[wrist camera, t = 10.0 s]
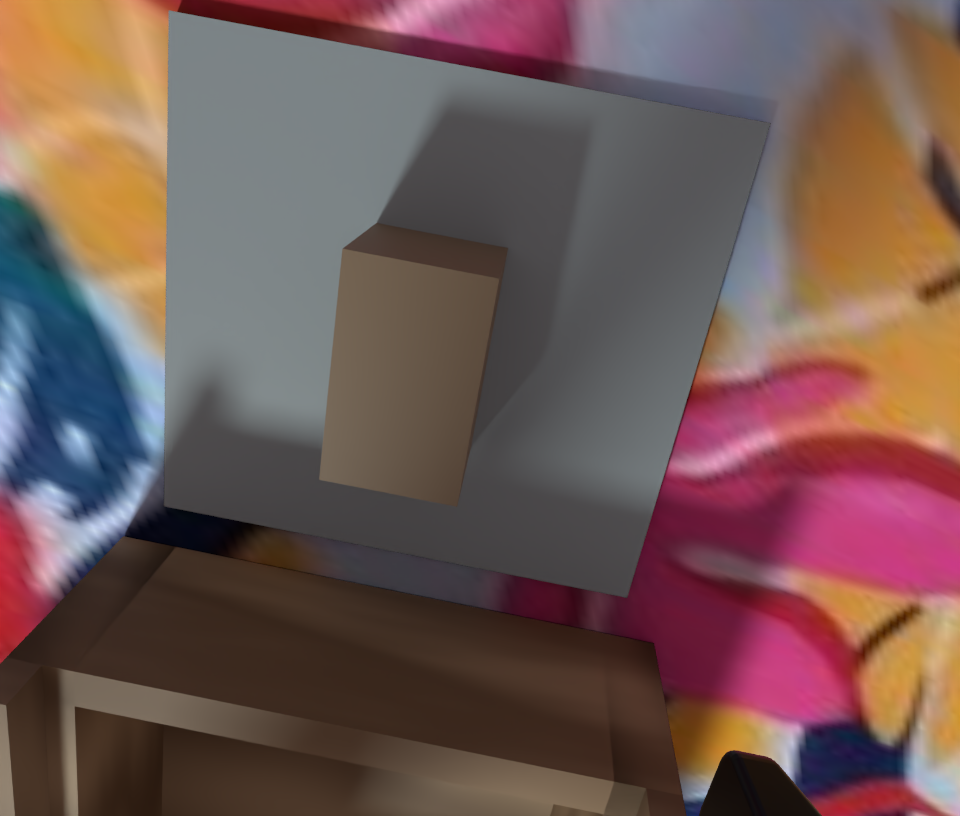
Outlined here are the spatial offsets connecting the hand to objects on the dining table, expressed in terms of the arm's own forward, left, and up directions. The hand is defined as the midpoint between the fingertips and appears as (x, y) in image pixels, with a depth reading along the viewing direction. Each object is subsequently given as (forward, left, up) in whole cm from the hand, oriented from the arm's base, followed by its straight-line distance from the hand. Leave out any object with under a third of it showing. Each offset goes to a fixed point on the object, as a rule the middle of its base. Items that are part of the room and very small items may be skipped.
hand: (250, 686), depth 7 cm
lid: (0, 0, -13) cm, 13 cm away
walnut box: (-14, 0, -12) cm, 19 cm away
